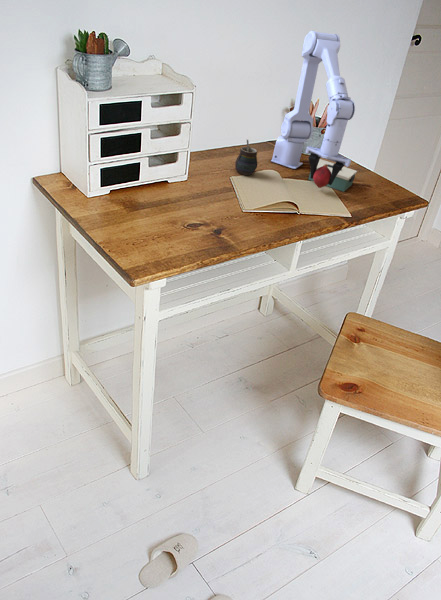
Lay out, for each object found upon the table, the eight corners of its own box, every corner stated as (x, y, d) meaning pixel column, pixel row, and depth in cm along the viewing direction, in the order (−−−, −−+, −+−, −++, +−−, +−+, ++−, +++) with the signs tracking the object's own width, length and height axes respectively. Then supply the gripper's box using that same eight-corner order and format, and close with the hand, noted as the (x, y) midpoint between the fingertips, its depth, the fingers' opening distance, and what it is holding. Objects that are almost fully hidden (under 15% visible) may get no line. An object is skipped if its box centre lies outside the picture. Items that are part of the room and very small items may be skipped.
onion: (322, 192, 177) (329, 169, 173) (307, 186, 179) (313, 162, 175) (331, 188, 181) (337, 165, 177) (315, 182, 184) (322, 159, 179)
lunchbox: (305, 179, 189) (310, 163, 186) (315, 172, 196) (319, 157, 193) (345, 192, 184) (350, 177, 181) (354, 185, 192) (358, 169, 189)
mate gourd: (238, 177, 180) (244, 147, 175) (229, 168, 186) (235, 138, 180) (258, 177, 183) (264, 147, 178) (249, 168, 189) (255, 139, 183)
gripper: (306, 135, 171) (296, 176, 178) (350, 149, 166) (338, 191, 174) (314, 130, 176) (304, 171, 184) (357, 144, 171) (345, 185, 179)
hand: (321, 180), depth 179 cm, fingers closed on onion, 6 cm apart
